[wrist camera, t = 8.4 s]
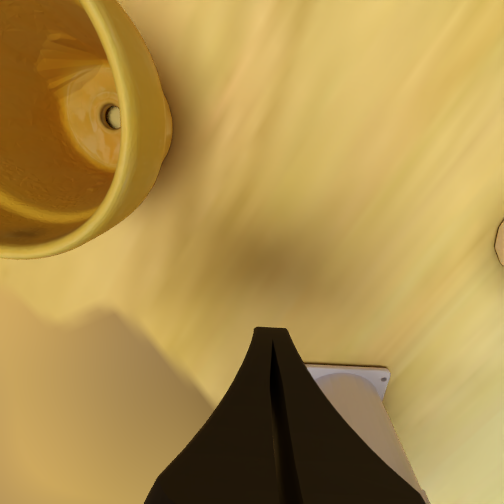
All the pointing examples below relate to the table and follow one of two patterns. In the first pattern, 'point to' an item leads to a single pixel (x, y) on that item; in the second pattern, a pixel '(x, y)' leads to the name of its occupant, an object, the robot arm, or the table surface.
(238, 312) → the table surface
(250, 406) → the robot arm
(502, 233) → the beige tapered cylinder
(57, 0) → the plant pot
